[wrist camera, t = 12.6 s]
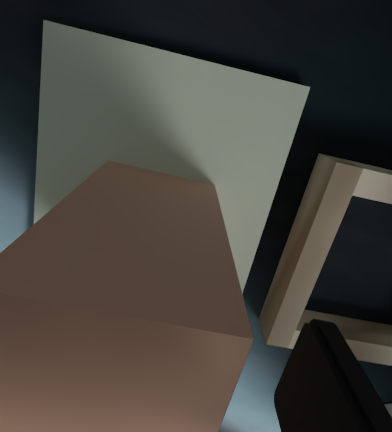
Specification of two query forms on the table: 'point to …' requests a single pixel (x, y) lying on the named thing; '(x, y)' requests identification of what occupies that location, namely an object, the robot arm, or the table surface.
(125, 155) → the sage pad
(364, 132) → the table surface
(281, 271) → the pocket frame
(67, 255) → the terracotta block
